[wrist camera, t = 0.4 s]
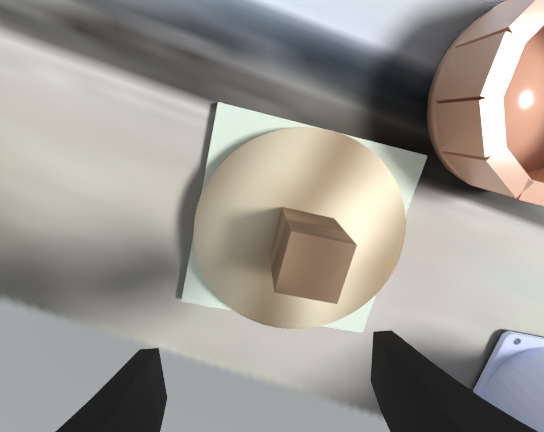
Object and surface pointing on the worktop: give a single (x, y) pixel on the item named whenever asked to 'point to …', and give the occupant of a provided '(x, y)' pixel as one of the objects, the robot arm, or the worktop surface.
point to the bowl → (493, 102)
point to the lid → (299, 227)
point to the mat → (249, 124)
